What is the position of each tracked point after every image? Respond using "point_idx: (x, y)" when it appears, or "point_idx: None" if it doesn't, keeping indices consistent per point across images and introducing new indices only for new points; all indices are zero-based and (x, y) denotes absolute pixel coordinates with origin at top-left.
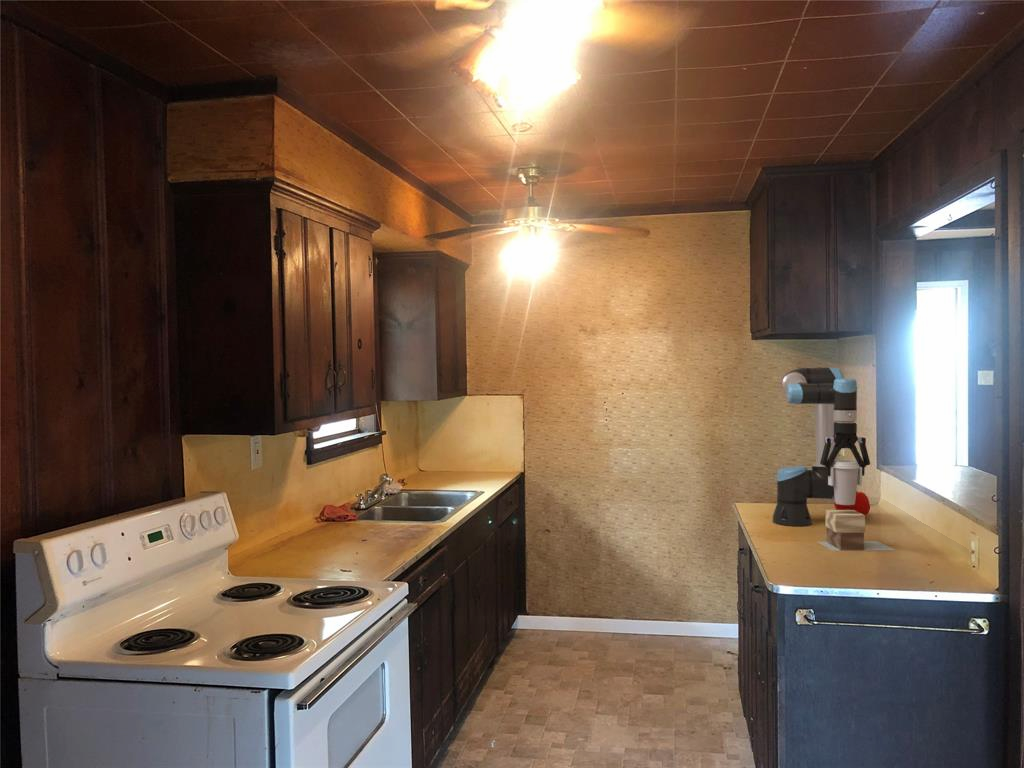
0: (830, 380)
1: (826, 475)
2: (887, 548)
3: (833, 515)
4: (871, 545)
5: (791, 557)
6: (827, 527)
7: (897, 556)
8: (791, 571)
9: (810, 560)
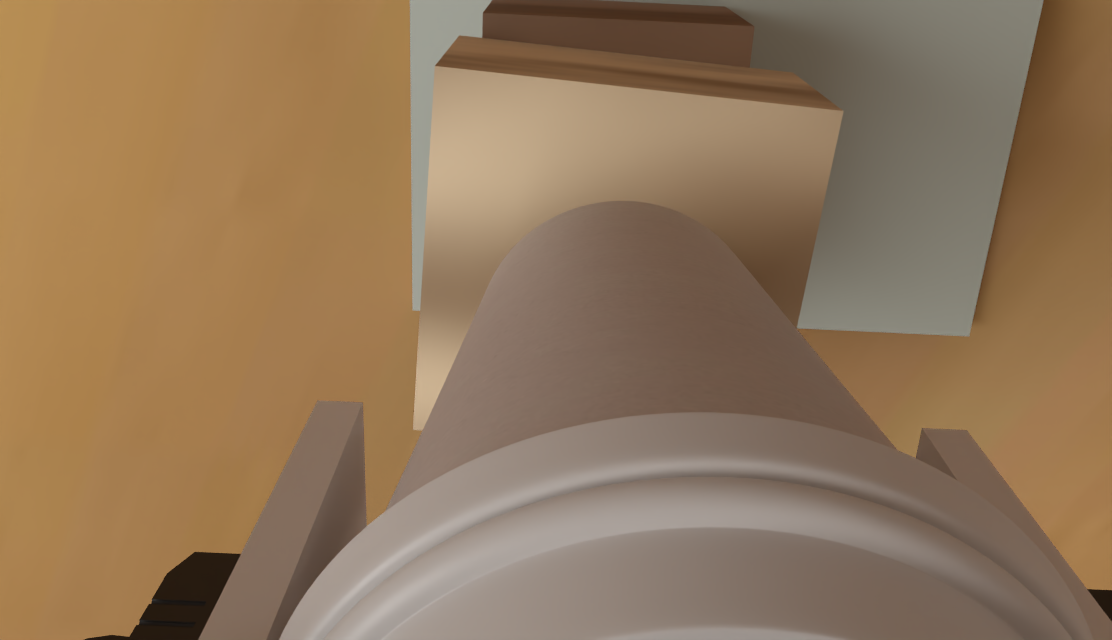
0: None
1: (195, 564)
2: (934, 285)
3: (419, 355)
4: (865, 164)
5: (42, 378)
6: (483, 37)
7: (905, 411)
8: None
9: (168, 468)
